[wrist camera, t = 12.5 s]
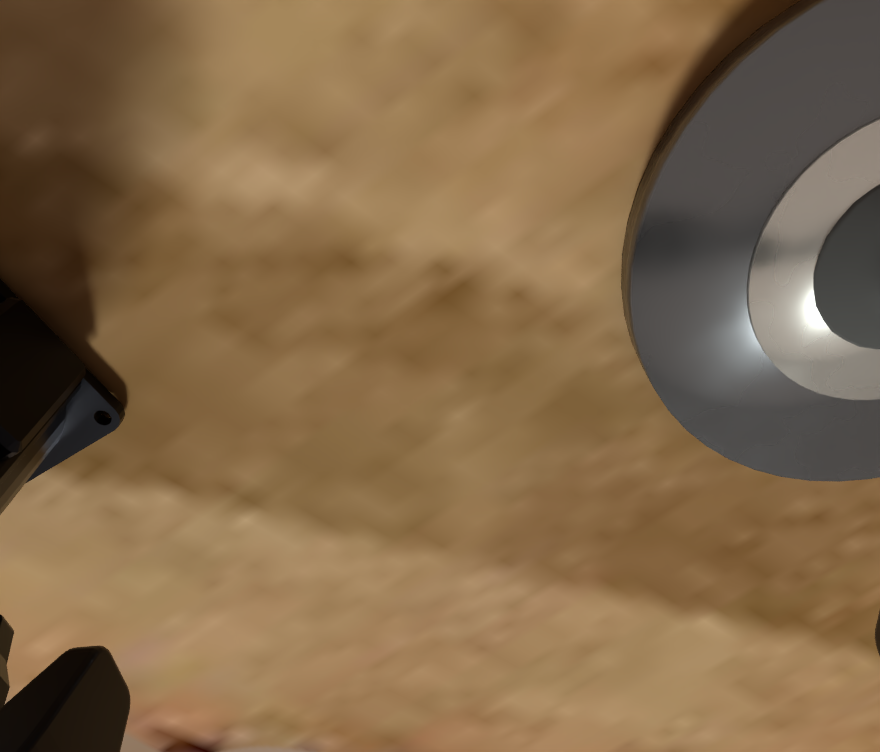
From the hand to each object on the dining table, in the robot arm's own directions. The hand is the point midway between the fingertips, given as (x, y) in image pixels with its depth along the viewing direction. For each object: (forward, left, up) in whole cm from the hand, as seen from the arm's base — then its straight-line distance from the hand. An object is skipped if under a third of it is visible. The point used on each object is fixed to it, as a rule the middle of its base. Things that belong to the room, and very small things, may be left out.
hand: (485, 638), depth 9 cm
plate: (+10, -6, -13) cm, 18 cm away
